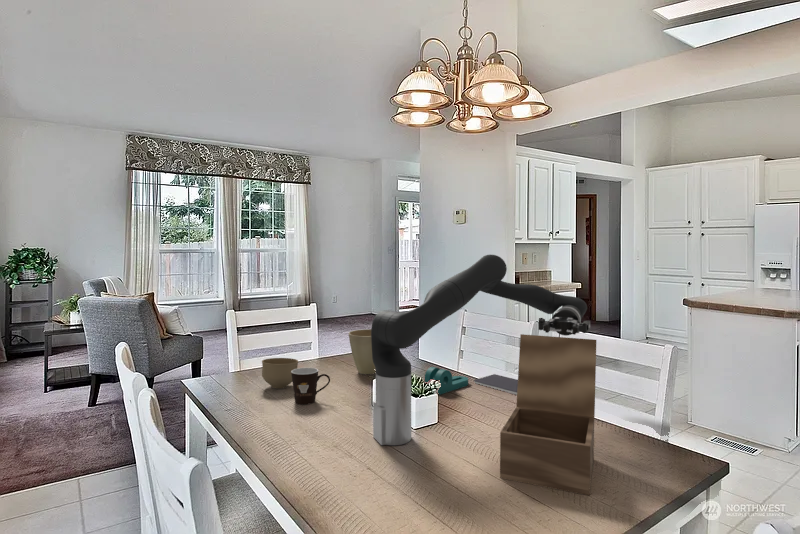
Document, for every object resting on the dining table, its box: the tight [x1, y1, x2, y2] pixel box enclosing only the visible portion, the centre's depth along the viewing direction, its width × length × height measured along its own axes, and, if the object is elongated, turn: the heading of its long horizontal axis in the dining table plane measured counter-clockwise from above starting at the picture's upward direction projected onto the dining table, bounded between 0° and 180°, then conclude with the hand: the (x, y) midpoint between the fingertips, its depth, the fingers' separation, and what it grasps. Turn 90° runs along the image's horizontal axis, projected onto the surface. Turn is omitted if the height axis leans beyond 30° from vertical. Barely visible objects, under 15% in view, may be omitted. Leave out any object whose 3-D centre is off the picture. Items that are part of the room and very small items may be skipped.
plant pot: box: [348, 328, 376, 375], centre depth 190 cm, size 15×15×16 cm
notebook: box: [473, 373, 518, 396], centre depth 172 cm, size 13×2×21 cm
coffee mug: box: [291, 367, 331, 406], centre depth 154 cm, size 12×9×10 cm
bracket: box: [424, 366, 469, 396], centre depth 170 cm, size 18×7×8 cm, turn 134°
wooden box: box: [499, 407, 595, 496], centre depth 108 cm, size 18×18×10 cm
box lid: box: [515, 333, 597, 418], centre depth 118 cm, size 18×18×1 cm
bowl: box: [261, 357, 299, 390], centre depth 171 cm, size 13×13×10 cm
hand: (560, 329), depth 126 cm, fingers open, 6 cm apart
